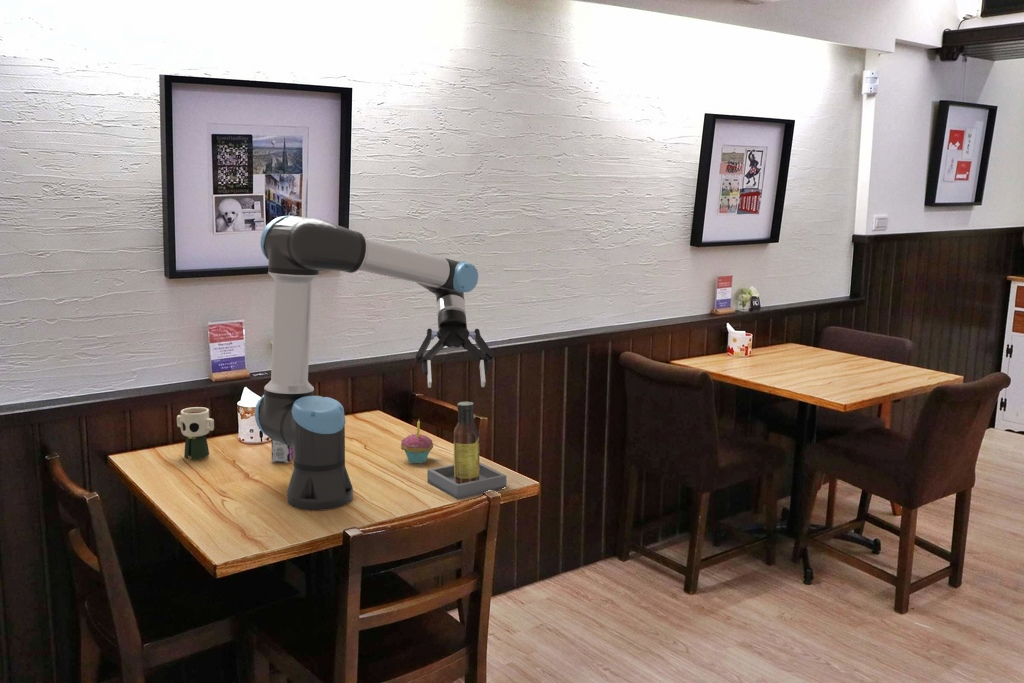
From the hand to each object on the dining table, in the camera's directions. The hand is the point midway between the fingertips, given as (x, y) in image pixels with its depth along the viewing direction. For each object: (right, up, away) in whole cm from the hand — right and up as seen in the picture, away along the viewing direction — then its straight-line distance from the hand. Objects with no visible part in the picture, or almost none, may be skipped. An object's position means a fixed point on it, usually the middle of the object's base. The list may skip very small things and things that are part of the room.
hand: (456, 384), depth 232 cm
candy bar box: (-46, -20, +13) cm, 52 cm away
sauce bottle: (+3, -24, -6) cm, 25 cm away
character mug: (-69, -20, +10) cm, 72 cm away
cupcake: (-11, -21, +12) cm, 26 cm away
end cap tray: (+3, -24, -6) cm, 25 cm away
